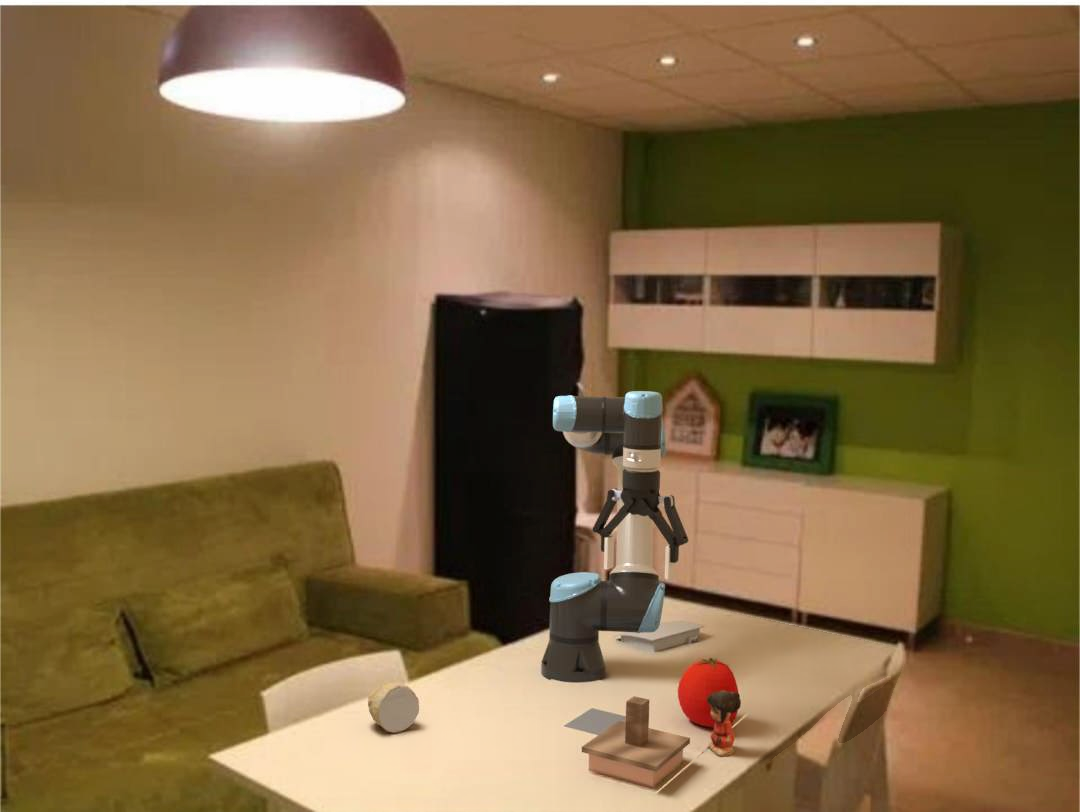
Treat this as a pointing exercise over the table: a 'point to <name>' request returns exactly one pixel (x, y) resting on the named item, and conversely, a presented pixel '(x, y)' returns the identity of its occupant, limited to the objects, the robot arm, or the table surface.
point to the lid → (636, 740)
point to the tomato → (704, 689)
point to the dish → (633, 770)
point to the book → (664, 635)
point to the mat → (595, 721)
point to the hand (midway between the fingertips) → (638, 573)
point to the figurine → (723, 721)
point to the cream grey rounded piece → (393, 706)
